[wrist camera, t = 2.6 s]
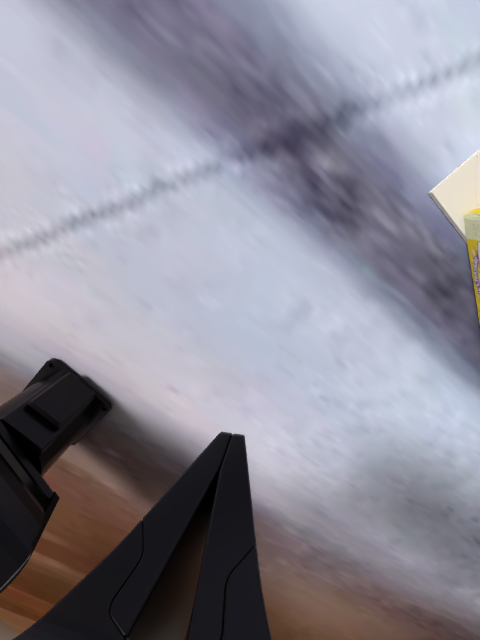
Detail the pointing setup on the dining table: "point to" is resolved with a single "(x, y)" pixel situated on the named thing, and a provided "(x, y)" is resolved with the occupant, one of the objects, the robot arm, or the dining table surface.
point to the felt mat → (459, 193)
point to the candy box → (474, 249)
